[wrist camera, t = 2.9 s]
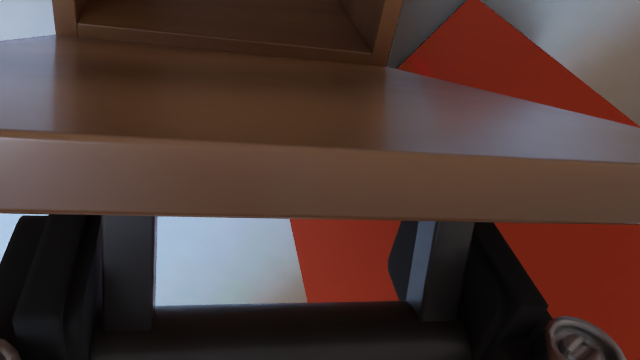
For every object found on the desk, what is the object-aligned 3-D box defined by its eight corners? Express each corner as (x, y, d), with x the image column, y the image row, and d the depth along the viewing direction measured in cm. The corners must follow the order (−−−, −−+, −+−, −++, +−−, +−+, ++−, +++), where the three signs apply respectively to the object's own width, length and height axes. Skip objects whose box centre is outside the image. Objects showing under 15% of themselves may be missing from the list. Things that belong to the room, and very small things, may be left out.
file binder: (536, 71, 36) (1322, 751, 11) (357, 227, 42) (596, 905, 17) (470, -7, 32) (1513, 812, 7) (281, 179, 37) (447, 991, 12)
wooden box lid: (-548, 100, 4) (-370, 627, 5) (840, 175, 7) (723, 480, 8) (53, 34, 20) (57, 164, 21) (388, 66, 23) (373, 177, 25)
